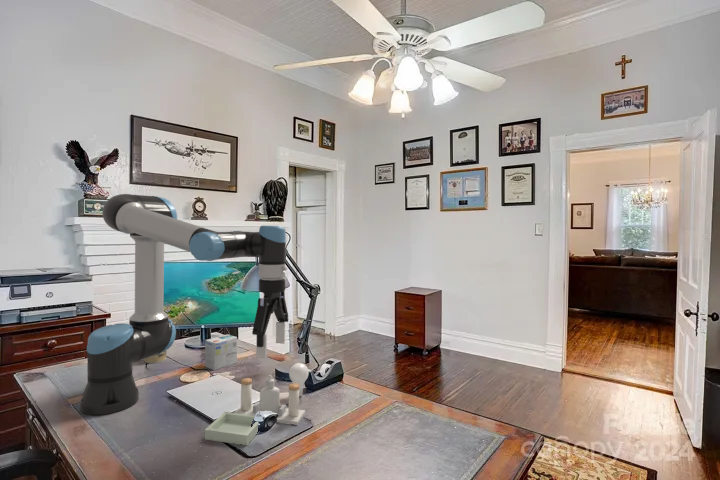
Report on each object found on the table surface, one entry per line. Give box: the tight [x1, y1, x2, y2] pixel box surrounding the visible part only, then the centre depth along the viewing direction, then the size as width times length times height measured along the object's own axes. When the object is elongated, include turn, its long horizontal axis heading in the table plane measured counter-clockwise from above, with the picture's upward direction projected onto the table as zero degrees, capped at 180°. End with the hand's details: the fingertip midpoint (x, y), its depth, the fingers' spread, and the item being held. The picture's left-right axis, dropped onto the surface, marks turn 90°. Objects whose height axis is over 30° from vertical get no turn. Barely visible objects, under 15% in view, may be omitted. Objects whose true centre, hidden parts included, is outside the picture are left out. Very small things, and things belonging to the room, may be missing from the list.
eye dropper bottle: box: [259, 374, 281, 416], centre depth 115 cm, size 4×6×12 cm
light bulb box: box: [204, 333, 238, 371], centre depth 154 cm, size 11×7×11 cm, turn 144°
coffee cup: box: [143, 350, 168, 364], centre depth 158 cm, size 9×9×12 cm
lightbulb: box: [288, 362, 310, 398], centre depth 128 cm, size 6×6×11 cm
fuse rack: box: [233, 377, 306, 426], centre depth 116 cm, size 20×7×10 cm, turn 79°
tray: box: [204, 411, 259, 446], centre depth 106 cm, size 12×10×3 cm
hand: (271, 350), depth 115 cm, fingers open, 13 cm apart
